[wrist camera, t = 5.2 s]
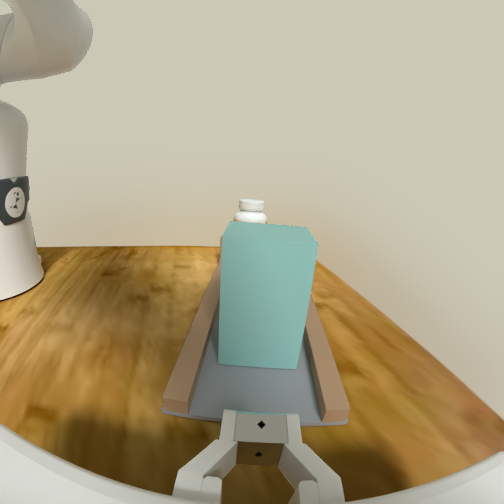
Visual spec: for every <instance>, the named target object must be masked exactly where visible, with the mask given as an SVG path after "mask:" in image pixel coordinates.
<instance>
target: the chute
mask: <svg viewBox="0 0 504 504" xmlns="http://www.w3.org/2000/svg"><path fill="white" fill-rule="evenodd" d="M221 255H222V237H221V239H220V259H219V262H218V265H217V267H216V269H215V272H214V274H213V276H212V278H211V281H210V283H209V285H208V288H207V290H206V292H205V295H204V297H203V299H202V302H201V304H200V306H199V309H198V311H197V313H196V316H195V318H194V320H193V323H192V325H191V328H190V330H189V332H188V335H187V337H186V340H185V342H184V344H183V347H182V349H181V352H180V354H179V357H178V359H177V361H176V364H175V366H174V369H173V371H172V374H171V376H170V379H169V381H168V384H167V386H166V389H165V391H164V394H163V396H162V400H163V406H162V409H161V410H162V413H164V414H170V415H175V416H181V417H187V418H193V419H200V420H207V421H215V422H222V418H223V412H224V409H227V410H236V411H246V412H256V413H285V414H298V415H299V420H300V426H328V425H345V424H347V422H348V419H347V416H348V414H349V411H350V406H349V403H348V400H347V397H346V394H345V391H344V388H343V384H342V381H341V378H340V375H339V372H338V369H337V366H336V363H335V361H334V358H333V355H332V352H331V349H330V346H329V343H328V340H327V337H326V334H325V332H324V329H323V326H322V323H321V320H320V318H319V315H318V312H317V309H316V307H315V304H314V301H313V298H312V296H311V294H310V300H309V306H308V312H307V317H306V323H305V328H304V333H303V338H302V344H301V349H300V354H299V358H298V363H297V368H296V369H280V368H262V367H248V366H236V365H226V364H218V349H219V309H220V279H221Z"/></svg>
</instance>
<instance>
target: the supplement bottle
mask: <svg viewBox="0 0 504 504" xmlns="http://www.w3.org/2000/svg"><path fill="white" fill-rule="evenodd" d="M239 208H240V209H241V210H240V212H237V213H236V214H235V216H234V221H239V222H252V223H264V224H267V217H266V216H265V215H264V214H263V213H262V211H263V210H264V201H261V200H254V199H240V201H239Z"/></svg>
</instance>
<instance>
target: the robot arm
mask: <svg viewBox="0 0 504 504" xmlns="http://www.w3.org/2000/svg"><path fill="white" fill-rule="evenodd" d="M4 1H5V2H6V3H7V4H8V5H9V6H10V8H11V9H12V11H13V13H11V14H5V15H0V85H1V84H4V83H7V82H13V81H21V80H29V79H40V78H45V77H49V76H53V75H57V74H61V73H65V72H69V71H71V70H72V69H74V68H75V67H76V66H77V65H78V64H79V63H80V62H81V61H82V59H83V58H84V57H85V55H86V53H87V51H88V49H89V47H90V44H91V41H92V34H93V29H92V23H91V20H90V18H89V16H88V15H87V14H86V13H85V12H84V11H83V10H82V9H80V8H79V7H78V6H77V5H76V4H75V3H74V1H73V0H4ZM27 138H28V123H27V120H26V117H25V115H24V114H23V113H22V112H21V111H20V110H19V109H17V108H16V107H14V106H12V105H10V104H8V103H6V102H3V101H1V100H0V300H2V299H6V298H9V297H12V296H15V295H18V294H20V293H22V292H24V291H26V290H28V289H30V288H31V287H33V286H34V285H36V284H37V283H38V282H39V281H40V280H41V279H42V278H43V276H44V270H43V268H42V265H41V264H42V259H41V256H40V255H38V252H37V247H36V243H35V238H34V233H33V227H32V222H31V216H30V214H29V212H28V209H27V203H28V201H29V190H30V188H29V180H28V176H25V175H26V154H27ZM19 176H20V177H19ZM236 464H246V465H266V466H277V467H278V469H279V470H280V471H281V473H282V474H283V475H284V477H285V478H286V480H287V481H288V482H289V483H290V485H291V486H292V487H293V489H294V490H295V492H294V494H293V496H292V497H291V499H290V501H289V503H288V504H504V452H499V453H496V454H494V455H492V456H490V457H488V458H486V459H484V460H482V461H480V462H478V463H476V464H474V465H472V466H470V467H467V468H465V469H463V470H460V471H458V472H456V473H453V474H451V475H448V476H445V477H443V478H440V479H437V480H434V481H432V482H429V483H426V484H422V485H419V486H416V487H413V488H409V489H406V490H402V491H398V492H394V493H390V494H386V495H382V496H377V497H372V498H367V499H362V500H356V501H349V502H345V498H344V493H343V487H342V482H341V477H340V476H339V475H337V474H336V473H335V472H334V471H333V470H332V469H331V468H330V467H329V466H328V465H327V464H326V463H325V462H324V461H323V460H322V459H321V458H320V457H319V456H318V455H317V454H316V453H315V452H314V451H313V450H312V449H311V448H310V447H309V446H308V445H307V444H302V437H301V429H300V420H299V415H298V414H285V413H256V412H246V411H236V410H227V409H224V412H223V418H222V424H221V431H220V437H219V439H215V440H214V441H213V442H212V443H211V444H210V445H208V446H207V447H206V448H205V449H204V450H203V451H201V452H200V453H199V454H198V455H197V456H195V457H194V458H193V459H192V460H191V461H189V462H188V463H187V464H186V465H184V466H183V467H182V468H181V469H179V470H178V474H177V478H176V482H175V485H174V489H173V493H172V496H169V495H165V494H161V493H156V492H152V491H149V490H145V489H141V488H138V487H134V486H131V485H128V484H124V483H121V482H118V481H115V480H112V479H110V478H107V477H104V476H101V475H99V474H96V473H94V472H91V471H89V470H86V469H84V468H81V467H79V466H77V465H75V464H72V463H70V462H68V461H66V460H64V459H62V458H60V457H58V456H55V455H54V454H52V453H50V452H48V451H46V450H44V449H42V448H40V447H38V446H37V445H35V444H33V443H31V442H30V441H28V440H26V439H25V438H23V437H21V436H20V435H18V434H17V433H15V432H13V431H12V430H10V429H9V428H7V427H6V426H4V425H3V424H1V423H0V504H222V480H223V478H224V477H225V476H226V475H227V474H228V473H229V472H230V471H231V470H232V469H233V467H234V466H235V465H236Z"/></svg>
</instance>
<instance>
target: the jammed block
mask: <svg viewBox="0 0 504 504" xmlns="http://www.w3.org/2000/svg"><path fill="white" fill-rule="evenodd" d="M317 248H318V242H317V241H316V240H315V239H314V237H313V236H312V234H311V233H310V232H309V230H308V229H307V228H306V227H299V226H288V225H276V224H264V223H252V222H239V221H230V223H229V225H228V227H227V228H226V230H225V232H224V234H223V235H222V255H221V279H220V309H219V349H218V364H226V365H236V366H248V367H262V368H280V369H296V368H297V363H298V358H299V354H300V349H301V344H302V338H303V333H304V328H305V323H306V317H307V312H308V306H309V300H310V294H311V288H312V282H313V275H314V269H315V262H316V255H317Z"/></svg>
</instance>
